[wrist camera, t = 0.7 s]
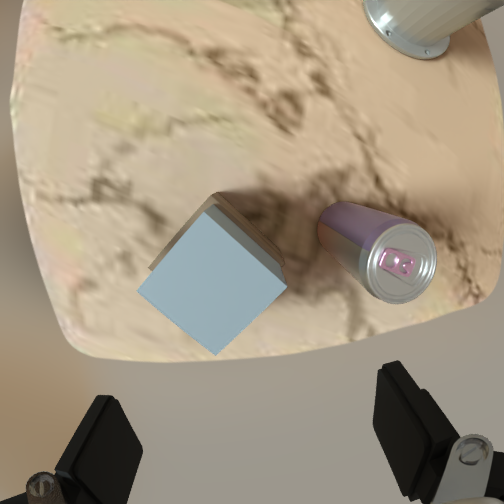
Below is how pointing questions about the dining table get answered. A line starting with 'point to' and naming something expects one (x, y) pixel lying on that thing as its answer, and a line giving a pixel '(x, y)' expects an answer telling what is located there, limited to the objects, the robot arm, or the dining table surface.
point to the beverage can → (379, 250)
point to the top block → (214, 281)
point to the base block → (233, 216)
